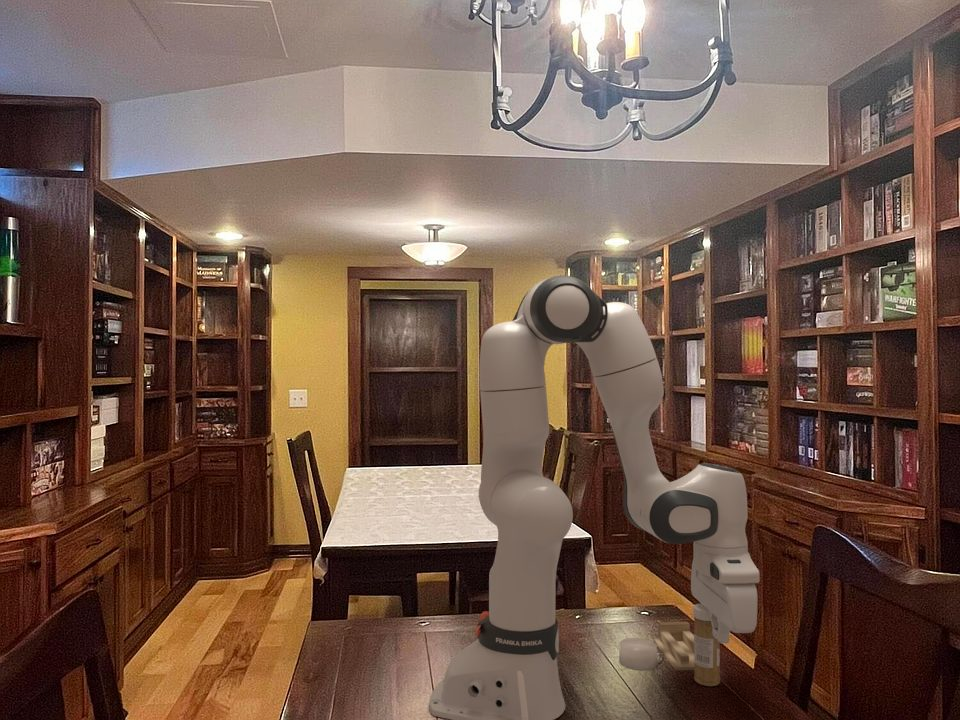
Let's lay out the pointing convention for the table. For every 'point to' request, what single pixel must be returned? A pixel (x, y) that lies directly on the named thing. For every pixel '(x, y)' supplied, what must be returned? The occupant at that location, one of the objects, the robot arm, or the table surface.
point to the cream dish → (638, 654)
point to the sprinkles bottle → (705, 648)
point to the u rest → (677, 644)
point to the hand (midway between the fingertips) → (720, 640)
